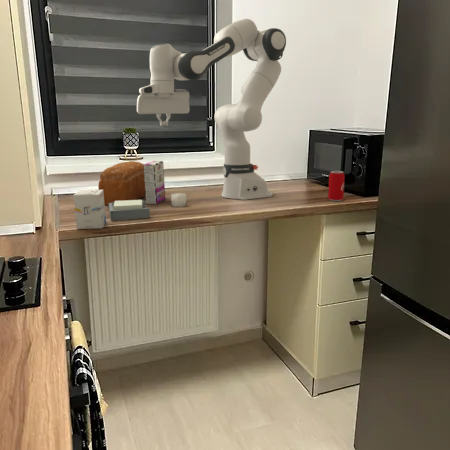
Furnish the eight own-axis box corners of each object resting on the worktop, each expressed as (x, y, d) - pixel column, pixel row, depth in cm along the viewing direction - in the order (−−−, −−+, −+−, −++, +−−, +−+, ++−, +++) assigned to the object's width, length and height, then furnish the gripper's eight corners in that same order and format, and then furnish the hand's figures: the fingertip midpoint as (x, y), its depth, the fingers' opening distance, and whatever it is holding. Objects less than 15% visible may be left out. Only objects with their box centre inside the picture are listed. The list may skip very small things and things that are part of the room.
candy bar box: (154, 198, 194) (152, 160, 190) (165, 199, 193) (164, 160, 189) (145, 204, 184) (142, 164, 179) (156, 204, 183) (154, 164, 178)
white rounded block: (184, 203, 185) (184, 192, 184) (187, 206, 179) (187, 195, 178) (170, 204, 183) (169, 193, 182) (172, 207, 178) (172, 196, 177)
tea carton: (142, 212, 171) (142, 199, 170) (142, 218, 163) (141, 204, 161) (115, 213, 169) (114, 200, 168) (114, 219, 161) (113, 206, 160)
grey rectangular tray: (145, 209, 175) (145, 200, 174) (150, 217, 162) (149, 208, 161) (109, 211, 171) (108, 203, 170) (111, 220, 158) (110, 211, 157)
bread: (96, 205, 183) (93, 166, 179) (124, 192, 207) (121, 158, 203) (128, 206, 180) (126, 167, 176) (152, 193, 205) (150, 159, 200)
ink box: (81, 222, 157) (78, 189, 153) (106, 221, 157) (103, 188, 154) (76, 229, 148) (72, 194, 145) (102, 228, 149) (99, 193, 146)
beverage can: (345, 200, 188) (347, 171, 185) (338, 202, 183) (340, 173, 180) (332, 198, 192) (334, 170, 189) (325, 200, 188) (326, 171, 184)
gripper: (187, 89, 178) (188, 125, 181) (135, 89, 172) (137, 126, 176) (190, 88, 172) (191, 125, 176) (136, 88, 166) (138, 127, 170)
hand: (164, 126), depth 176 cm, fingers closed
